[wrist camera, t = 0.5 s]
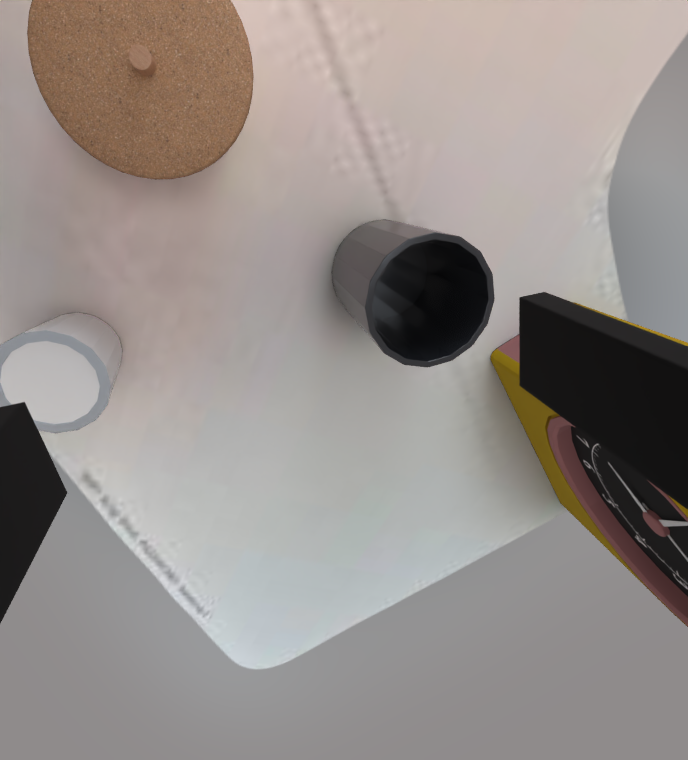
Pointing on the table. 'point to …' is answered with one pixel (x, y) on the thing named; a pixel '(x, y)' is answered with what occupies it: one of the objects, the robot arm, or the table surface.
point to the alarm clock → (606, 491)
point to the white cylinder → (61, 371)
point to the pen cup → (414, 290)
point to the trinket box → (144, 79)
